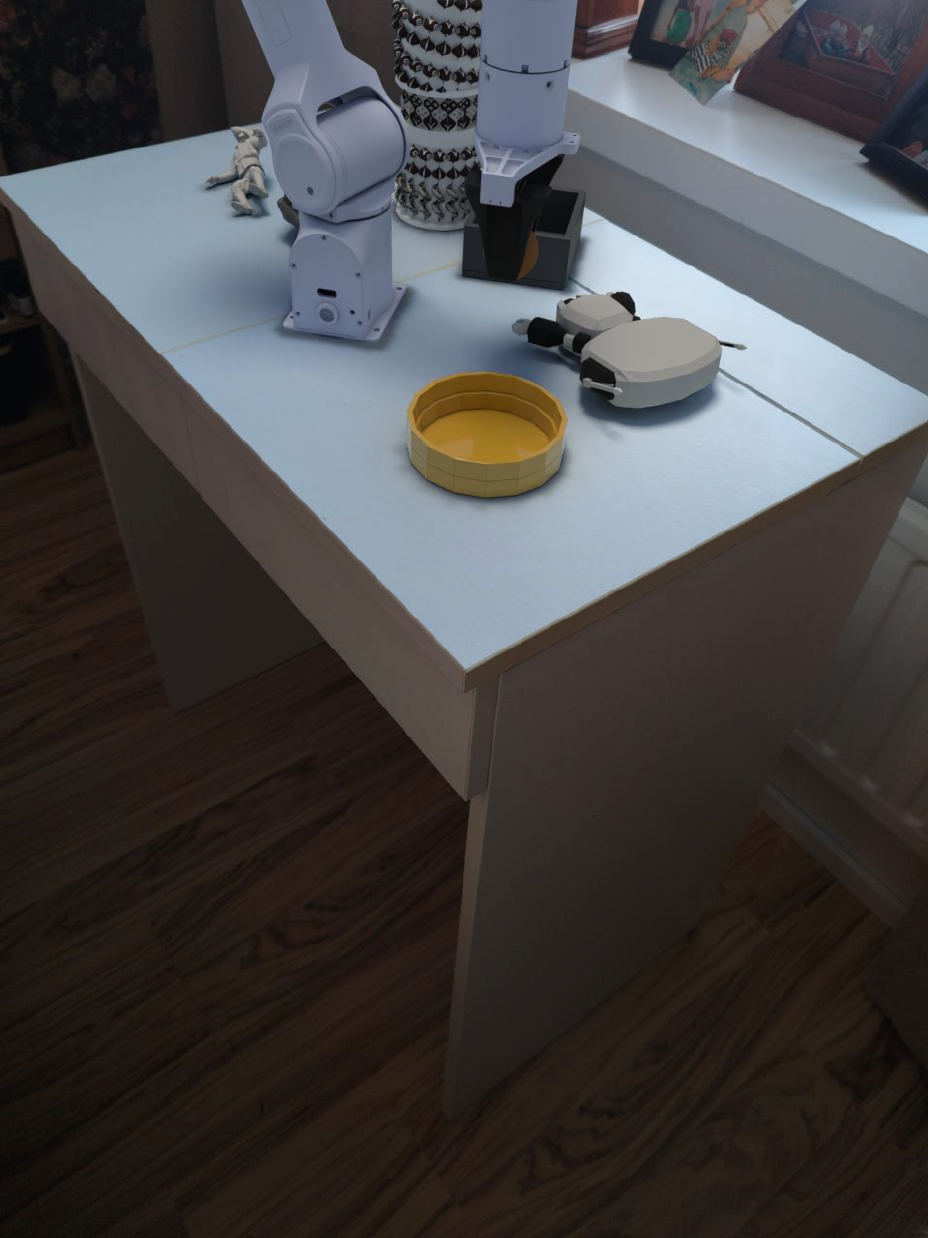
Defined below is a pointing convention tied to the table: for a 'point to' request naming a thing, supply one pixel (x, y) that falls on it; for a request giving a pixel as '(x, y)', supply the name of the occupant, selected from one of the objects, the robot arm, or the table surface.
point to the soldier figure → (245, 168)
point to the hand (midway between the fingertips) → (508, 263)
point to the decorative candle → (437, 107)
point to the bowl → (486, 433)
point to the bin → (553, 236)
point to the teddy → (528, 255)
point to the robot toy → (629, 349)
